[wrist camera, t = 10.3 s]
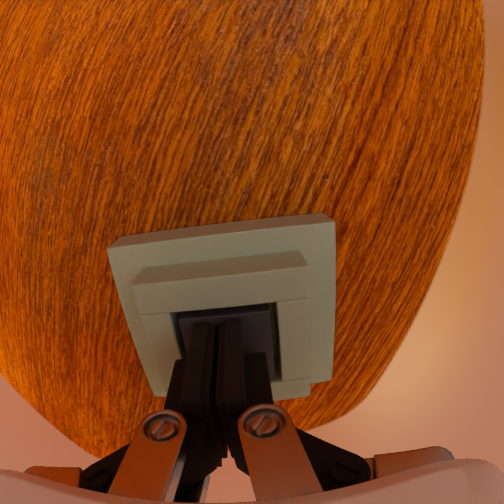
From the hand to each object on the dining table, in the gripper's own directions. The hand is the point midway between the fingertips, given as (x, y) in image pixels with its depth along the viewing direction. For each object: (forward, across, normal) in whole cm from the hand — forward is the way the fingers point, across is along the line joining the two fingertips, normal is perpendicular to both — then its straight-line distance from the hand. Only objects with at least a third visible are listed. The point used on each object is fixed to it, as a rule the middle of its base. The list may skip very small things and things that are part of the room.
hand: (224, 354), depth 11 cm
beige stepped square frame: (+4, 0, 0) cm, 4 cm away
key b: (+2, 0, 0) cm, 2 cm away
